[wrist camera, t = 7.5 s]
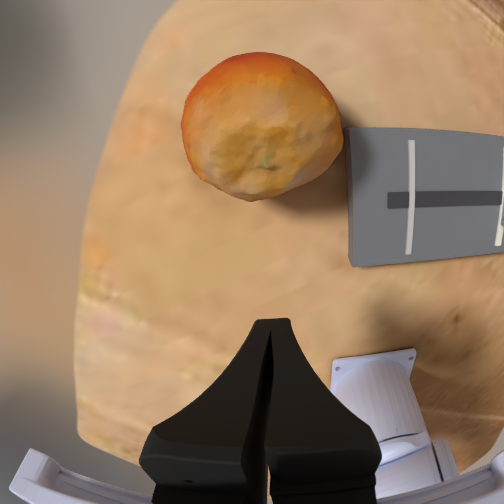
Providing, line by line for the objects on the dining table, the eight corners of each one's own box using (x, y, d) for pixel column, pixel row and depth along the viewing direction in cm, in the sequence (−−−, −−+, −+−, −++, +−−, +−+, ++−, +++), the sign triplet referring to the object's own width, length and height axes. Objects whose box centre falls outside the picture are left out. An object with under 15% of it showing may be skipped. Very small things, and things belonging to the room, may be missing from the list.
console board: (512, 242, 19) (527, 253, 17) (348, 257, 21) (355, 273, 19) (522, 139, 16) (539, 144, 13) (343, 128, 18) (352, 129, 15)
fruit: (317, 27, 14) (357, 73, 9) (323, 131, 20) (348, 214, 16) (182, 47, 15) (144, 104, 10) (212, 145, 21) (199, 230, 17)
